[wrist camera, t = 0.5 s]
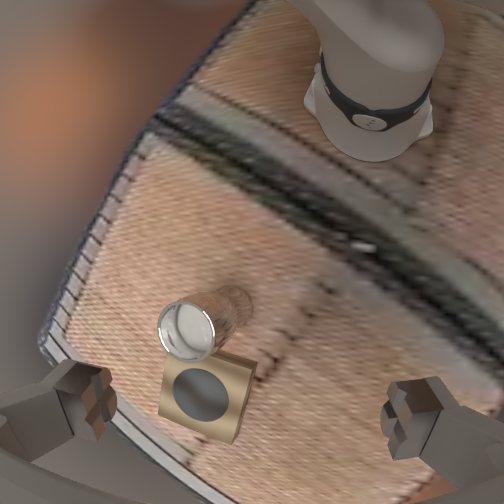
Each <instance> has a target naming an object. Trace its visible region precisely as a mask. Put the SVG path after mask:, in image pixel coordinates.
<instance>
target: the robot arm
mask: <svg viewBox="0 0 504 504" xmlns="http://www.w3.org/2000/svg"><path fill="white" fill-rule="evenodd" d="M285 1H286V2H288V3H289V4H291V5H292V6H293V7H294V8H296V9H297V10H298V11H299V12H301V13H302V14H303V15H304V16H305V17H306V18H307V19H308V20H309V21H310V22H311V23H312V24H313V26H314V27H315V29H316V31H317V34H318V37H319V40H320V43H321V47H320V51H319V56H320V57H321V60H320V63H316V65H315V68H314V72H315V75H314V78H313V80H312V82H311V84H310V86H309V88H308V91H307V93H306V95H305V97H304V106H305V108H306V109H307V110H308V111H309V112H310V113H311V114H312V115H313V116H314V117H316V118H317V120H318V121H319V123H320V125H321V127H322V129H323V131H324V133H325V135H326V136H327V138H328V139H329V140H330V142H331V143H332V144H333V145H334V146H335V147H336V148H338V149H339V150H340V151H342V152H343V153H345V154H347V155H348V156H351V157H353V158H356V159H359V160H363V161H369V162H379V161H386V160H389V159H392V158H395V157H397V156H399V155H400V154H402V153H403V152H404V151H405V150H407V149H408V147H409V146H410V145H411V144H412V143H414V142H415V141H417V140H420V139H423V138H426V137H428V136H429V135H431V133H432V131H433V120H432V113H431V112H432V105H431V104H430V99H429V93H430V88H431V84H432V75H433V73H434V71H435V69H436V67H437V65H438V62H439V60H440V58H441V56H442V53H443V50H444V31H443V27H442V24H441V22H440V19H439V18H438V16H437V14H436V12H435V11H434V10H433V8H432V7H431V5H430V4H429V3H428V2H427V0H285ZM459 1H462V2H465V3H469V4H472V5H475V6H477V7H480V8H483V9H486V10H489V11H491V12H494V13H499V14H503V15H504V0H459ZM312 95H313V96H312ZM112 380H113V379H112V376H111V372H110V370H109V369H108V368H106V367H101V366H97V365H92V364H88V363H83V362H79V361H74V360H70V359H65V360H63V361H62V362H61V363H60V364H59V365H58V366H57V367H56V368H55V369H54V370H53V371H52V372H51V373H50V374H49V375H47V377H45V378H44V379H43V381H42V382H40V383H39V384H37V383H34V384H31V385H27V386H25V387H21V388H18V389H15V390H12V391H8V392H5V393H2V394H0V504H151V503H146V502H141V501H138V500H134V499H130V498H126V497H123V496H119V495H115V494H112V493H108V492H105V491H102V490H99V489H96V488H93V487H90V486H87V485H84V484H81V483H78V482H76V481H73V480H70V479H68V478H65V477H63V476H60V475H58V474H55V473H53V472H50V471H48V470H46V469H43V468H41V467H39V466H37V465H35V464H32V463H31V462H32V461H34V460H36V459H37V458H39V457H41V456H43V455H44V454H46V453H48V452H49V451H51V450H53V449H55V448H57V447H58V446H60V445H62V444H64V443H65V442H67V441H69V440H70V439H72V438H73V437H74V436H75V437H79V438H82V439H86V440H90V441H93V442H98V441H99V439H100V438H101V436H102V434H103V433H104V431H105V430H106V427H105V422H108V421H110V420H112V418H113V416H114V415H115V412H116V408H117V396H116V392H115V390H114V389H113V388H112V387H111V386H110V383H111V381H112ZM387 395H388V397H389V400H388V401H387V402H386V403H385V404H384V405H383V408H382V411H381V421H380V423H381V429H382V432H383V435H385V436H386V437H388V438H389V442H388V444H387V445H388V448H389V451H390V453H391V456H392V459H393V460H401V459H408V458H414V457H419V458H420V459H421V460H423V461H424V462H425V463H426V464H428V465H429V466H430V467H431V468H433V469H434V470H435V471H436V472H438V473H439V474H440V475H441V476H443V477H444V478H445V479H447V480H448V481H449V482H451V483H452V484H453V485H454V486H456V487H457V488H458V489H459V490H458V491H455V492H452V493H449V494H446V495H442V496H439V497H435V498H432V499H428V500H424V501H419V502H415V503H411V504H504V424H503V423H501V422H499V421H497V420H494V419H492V418H490V417H488V416H486V415H484V414H481V413H479V412H477V411H475V410H473V409H471V408H468V407H466V406H460V405H459V404H458V402H457V401H456V400H455V398H454V397H453V395H452V394H451V393H450V391H449V390H448V389H447V387H446V386H445V384H444V383H443V382H442V380H441V379H440V378H439V377H437V376H434V377H428V378H422V379H417V380H408V381H398V382H391V384H390V385H389V387H388V391H387Z"/></svg>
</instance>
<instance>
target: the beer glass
mask: <svg viewBox="0 0 504 504" xmlns="http://www.w3.org/2000/svg"><path fill="white" fill-rule="evenodd" d="M251 315H252V302H251V299H250V297H249V296H248V294H247V293H246V292H245V291H244V290H242V289H240V288H238V287H234V286H227V287H224V288H222V289H220V290H219V291H218V292H217V293H216V292H199V293H195V294H191V295H188V296H186V297H183V298H181V299H179V300H177V301H176V302H173V303H171V304H169V305H168V306H166V307H165V308H164V309H163V311H162V312H161V314H160V316H159V319H158V335H159V339H160V341H161V344H162V345H163V347H164V349H165V350H166V351H167V352H168V353H169V354H170V355H171V356H172V357H174V358H175V359H177V360H179V361H182V362H186V363H195V362H199V361H201V360H203V359H205V358H206V357H208V356H210V355H211V354H213V353H215V352H216V351H218V350H219V349H220V348H222V347H223V346H224V345H225V344H226V343H227V342H228V341H229V339H230V338H231V337H232V335H233V333H234V332H235V330H236V328H239V327H241V326H243V325H245V324H246V323H247V322H248V321H249V319H250V317H251Z"/></svg>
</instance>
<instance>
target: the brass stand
mask: <svg viewBox="0 0 504 504" xmlns="http://www.w3.org/2000/svg"><path fill="white" fill-rule="evenodd" d="M256 366H257V362H254V361H251V360H248V359H244V358H241V357H238V356H235V355H232V354H229V353H226V352H223V351H220V350H218V351H216V352H215V353H213V354H211V355H210V356H208V357H206V358H205V359H203V360H201V361H199V362H195V363H186V362H182V361H179V360H177V359H175V358H174V357H172V356H171V355H170V354H169V353H168V352H167V354H166V360H165V367H164V374H163V381H162V388H161V395H160V403H159V410H158V415H160V416H162V417H164V418H166V419H169V420H171V421H173V422H175V423H178V424H180V425H182V426H184V427H187V428H189V429H192V430H194V431H196V432H199V433H201V434H204V435H206V436H209V437H211V438H214V439H217V440H219V441H222V442H225V443H227V444H230V445H232V443H233V442H234V440H235V439H236V437H237V435H238V432H239V428H240V425H241V421H242V417H243V414H244V410H245V407H246V403H247V399H248V396H249V392H250V388H251V385H252V381H253V377H254V374H255V370H256Z"/></svg>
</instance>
